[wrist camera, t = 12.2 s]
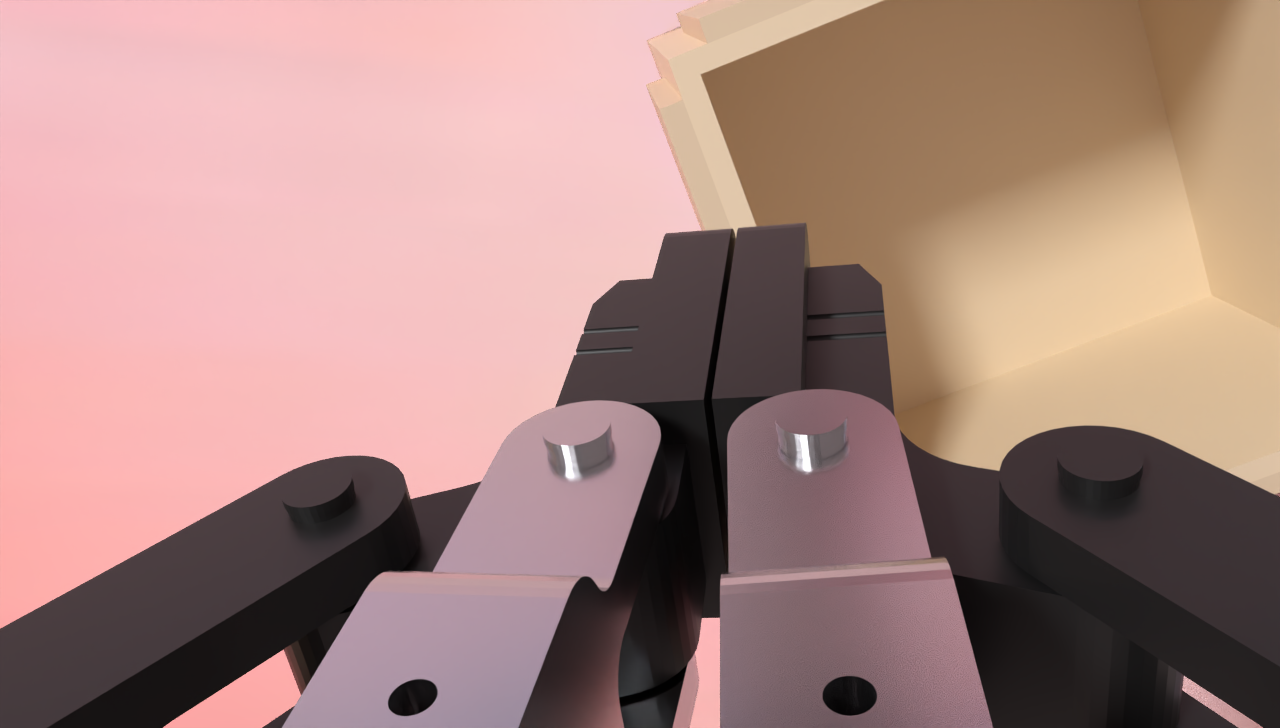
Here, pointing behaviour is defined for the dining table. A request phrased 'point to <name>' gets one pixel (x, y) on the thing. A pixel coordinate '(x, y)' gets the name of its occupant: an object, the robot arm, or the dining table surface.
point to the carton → (1016, 200)
